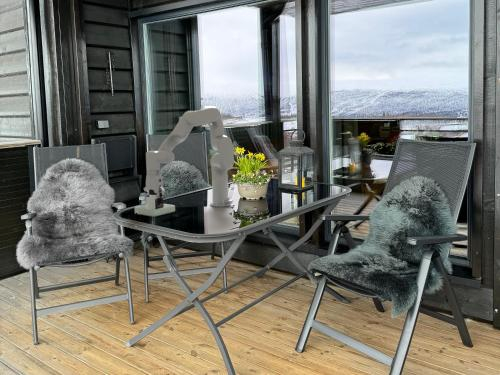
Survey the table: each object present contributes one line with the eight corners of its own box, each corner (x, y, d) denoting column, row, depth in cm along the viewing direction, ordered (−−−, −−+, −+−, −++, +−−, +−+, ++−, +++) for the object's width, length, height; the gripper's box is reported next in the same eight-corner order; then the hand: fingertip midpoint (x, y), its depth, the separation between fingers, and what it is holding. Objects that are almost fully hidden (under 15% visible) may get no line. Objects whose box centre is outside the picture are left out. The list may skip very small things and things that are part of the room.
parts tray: (175, 211, 296) (174, 205, 296) (154, 216, 284) (154, 210, 283) (155, 208, 306) (155, 202, 305) (134, 213, 293) (134, 207, 292)
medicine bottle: (155, 211, 289) (154, 189, 287) (146, 209, 293) (145, 188, 291) (164, 208, 295) (163, 188, 293) (154, 207, 299) (153, 187, 297)
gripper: (169, 173, 289) (170, 204, 292) (147, 170, 299) (149, 200, 302) (159, 174, 283) (161, 206, 286) (137, 172, 293) (139, 203, 296)
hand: (154, 203), depth 294 cm, fingers closed on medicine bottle, 7 cm apart
